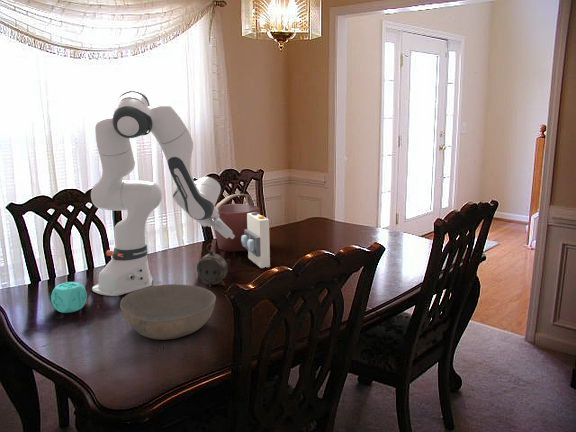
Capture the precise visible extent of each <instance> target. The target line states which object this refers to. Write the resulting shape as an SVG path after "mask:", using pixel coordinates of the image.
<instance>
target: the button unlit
mask: <svg viewBox="0 0 576 432" xmlns="http://www.w3.org/2000/svg"><path fill="white" fill-rule="evenodd" d="M248 240H249V238H248V235H242V237H241V242H242V246H243V247H248V246H247V242H248Z"/></svg>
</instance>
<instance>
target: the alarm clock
mask: <svg viewBox="0 0 576 432" xmlns="http://www.w3.org/2000/svg"><path fill="white" fill-rule="evenodd" d="M210 245H211V246H213V247H214V248H213V250H210V249H209V248H208V246H210ZM206 250H207V251H208V252H209V253H207V254H205V255H204V256H203V257H202V258H200V259H199V260H198V263H197V265H196V272H197V275H198V277H199V278H200V280H202V283H201V284H204V283H206V284H209V285H208V288H211V287H212V285H217V284H218V283H221V285H222V286H225V285H226V284H225V283H224V281H223V280H224V279H225V278H226V276H227V275H228V271H229V270H228V269H229V268H228V263H227V261H226V260H225V258H224V257H223V256H222V255H220V254H218V253H214V252H215V251H216V245H215V244H213V243H209V244H207V246H206Z"/></svg>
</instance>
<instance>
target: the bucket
mask: <svg viewBox="0 0 576 432" xmlns="http://www.w3.org/2000/svg"><path fill="white" fill-rule="evenodd" d="M240 196H241V197H243V196H245V202H246V203H228V202H229V201H230V200H231V199H233V198H236V197H240ZM226 203H228V204H226ZM215 207H216V208H217V209H218V214H219V218H220V219H221V220H222V221H223V222H224V223H225V224H226V225H227V226H228V227H229V228H230V229H231V230H232V232H233V234H234V235H235V237H234V238H233V239H231V238H230V237H228V238H225V237H224V236H222V235H221V234H220V233H219V232H218V231H217V230H215V229H214V228H213V230H214V236H215V239H216V242H217V246H218V247H217V248H218V250H222V251H225V252H230V253H231V252H244V251H248V250H247V249H246V248H245V247H243V246H242V242H241V237H242V235H244V230H245V229H247V213H252V212H257V213H258V214H259V215H261V208H260V207H258V206H256V205H254V200H253V199H252V195H251V194H246V193H235V194H234V193H233V194H231V195H227V196H226V197H225V198H223V199H222V200H221V201H220V202H218V203H216V204H215Z"/></svg>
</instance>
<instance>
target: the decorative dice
mask: <svg viewBox="0 0 576 432" xmlns="http://www.w3.org/2000/svg"><path fill="white" fill-rule="evenodd" d="M50 299H51V304H52V306H53V308H54V309H55V310H56V311H57V312H60V313H63V314H68V313H74V312H78V311H80V310H82V309H83V308H84V306H85V305H86V303H87V299H88V294H87V290H86V288H85V286H84V285H83V284H81V283H80V282H78V281H67V282H63V283H59V284H57V285H56V286H55V287H54V288H53V289H52V292H51V295H50Z"/></svg>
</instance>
